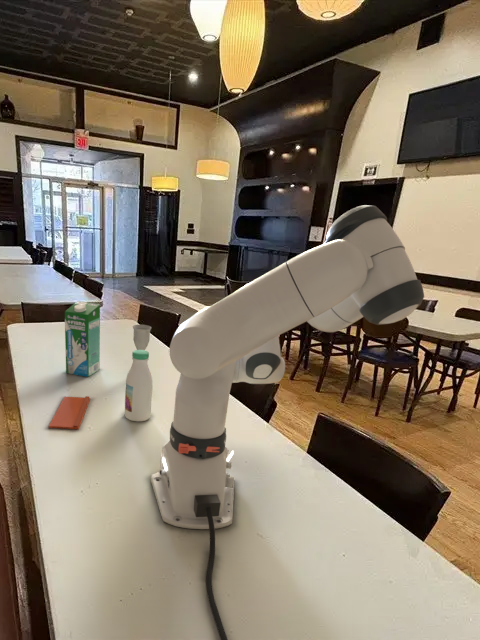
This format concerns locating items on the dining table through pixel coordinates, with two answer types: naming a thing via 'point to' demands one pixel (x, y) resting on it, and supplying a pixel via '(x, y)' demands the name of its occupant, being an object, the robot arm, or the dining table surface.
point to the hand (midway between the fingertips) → (177, 363)
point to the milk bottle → (138, 388)
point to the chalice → (141, 336)
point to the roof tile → (70, 413)
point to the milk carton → (82, 338)
